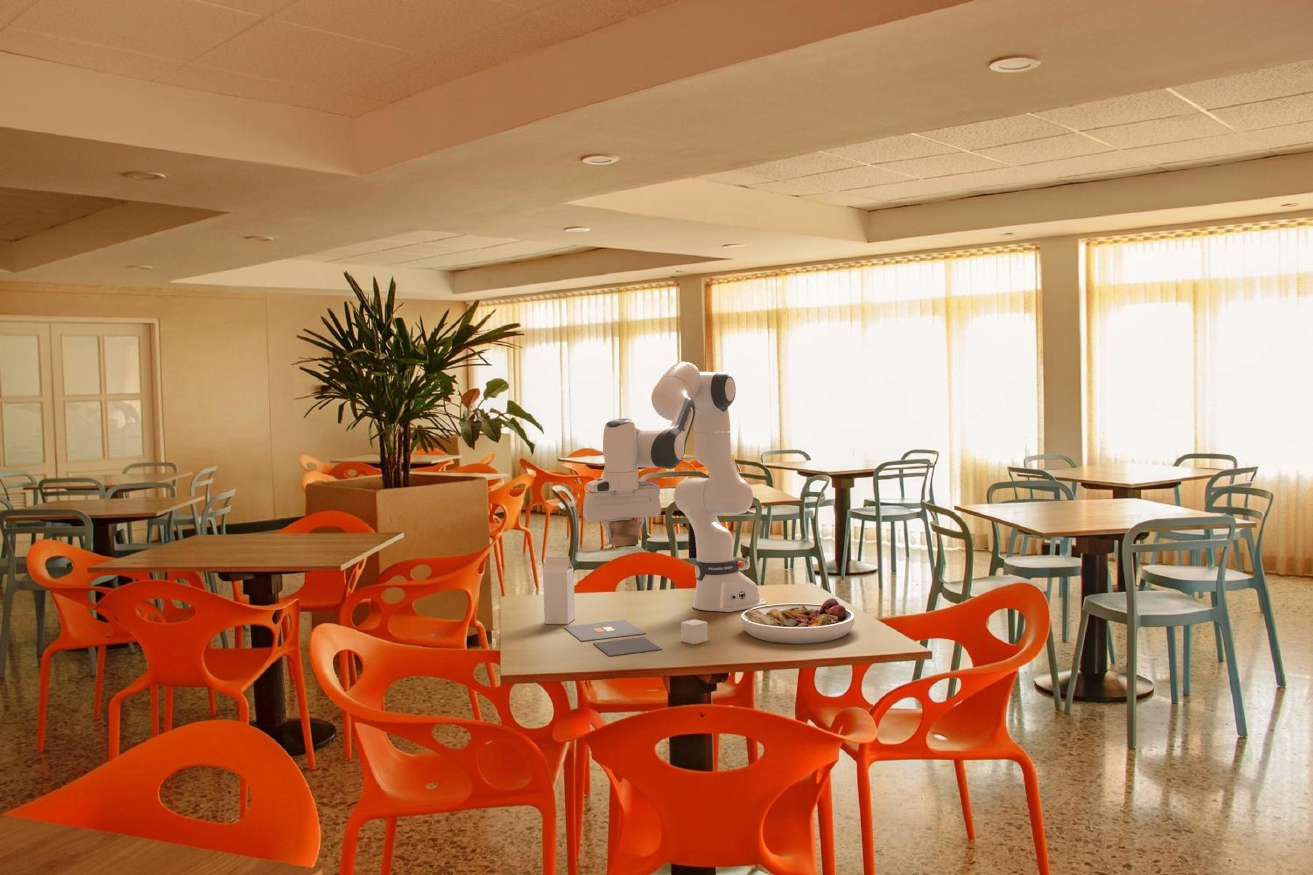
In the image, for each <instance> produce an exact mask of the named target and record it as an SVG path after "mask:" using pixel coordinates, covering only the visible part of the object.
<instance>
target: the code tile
mask: <svg viewBox="0 0 1313 875" xmlns="http://www.w3.org/2000/svg"><path fill="white" fill-rule="evenodd" d="M563 628H564V630H566V631H567V632H568V633H569V634H571V635H572V636H574V637H575V638H576V639H577V640H579V641H580V642H581V643H582V642H591V641H592V642H593V641H598V640H599V641H600V640H607V639H617V638H624V637H631V636H633V637H634V636H642V635H646V632H645V631H643V630H641V629H640V628H638V627H637V626H635V625H633V624H632V623H630V622H629V621H627V620H626V619H621V620H612V621H604V622H603V621H602V622H596V623H595V622H594V623H586V624H578V625H577V624H576V625H568V626H567V625H565V626H564V627H563Z"/></svg>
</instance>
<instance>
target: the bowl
mask: <svg viewBox="0 0 1313 875" xmlns="http://www.w3.org/2000/svg"><path fill="white" fill-rule="evenodd" d="M845 607H846V606H844V605H841V604H840V603H839V602H838V600H837V599H835V598H833V597H832V598H827V599H826V600H825V601H824V602H823V603H822V604H820V603H803V602H802V603H798V602H797V603H794V602H793V603H792V602H791V603H775V604H769V605H768V604H767V605H766V606H760V607H755V608H750V609H746V610H745V611H743V612H742V613H741V615H740V623H741V625H742V628H743V629H744V631H745V632H746V633H747V634H749V635H750V636H752V637H753V638H756V639H759V640H760V641H761V640H762V641H765V642H770V643H779V644H790V645H791V644H795V645H796V644H797V645H801V644H803V645H804V644H817V643H819V644H820V643H826V642H831V641H835V640H838V639H840V638H843V637H845V636H846V635H847V634H849V633H850V631H851V630H852V629H853V627H854V625H855V624H854V623H855V614H854V613H853V612H852V611H851V610H849V609H846V608H845Z"/></svg>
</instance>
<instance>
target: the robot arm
mask: <svg viewBox="0 0 1313 875" xmlns="http://www.w3.org/2000/svg"><path fill="white" fill-rule="evenodd" d="M736 393H737V389H736V383H735V380H734V378H733V377H732V376H731V374H730V373H727V372H723V371H716V372H714V371H700V370H699V369H698V367H697V366H696V365H694V364H692V363H691V362H687V361H680V362H676V363H675V364H673V365H672V366H671V367H670V368H669V369H667V371H665V373H664V374H663V376H661V378H660V379H659V381H658V382H657V383H656V385H655V386H654V388H653V390H652V392H651V397H650V399H651V404H652V407H653V408H654V410H655V412H656V413H657V414H658V415H659V416H660V417H661V418H663V419H664V420H667V421H671V425H670V427H668V428H665V429H661V430H640V429H639V428H637V427H636V426H635V422H634V420H633V419H630V418H618V419H612V420H610V421H608V422H607V423H605V425H604V428H603V435H602V436H603V438H602V455H603V458H604V468H603V476H601V477H598V478H596V479H593V480H591V481H589V482H587V483H586V485H585V488H586V490H587V491H588V492H586V493H585V495H584V497H583V506H582V507H583V508H582V516H583V519H584V520H585V521H587V522H600V524H601V526H602V528H603V529H604V531H605V537H606V539H609V538H613V531H612V530H609V528H608V524H609V520H618V519H636V520H637V521H638V536H641V534H642V532H641V529H642V527H643V526H644V524H645V522H646V521H645V518H653V517H654V518H655V517H659V516H660V515H661V513H662V505H661V499H660V495H661V488H660V487H661V486H660V484H659V483H658V482H656V481H654V480H649V481H647V480H646V481H643V480H642V481H639V468H659V469H666V470H667V469H668V470H673V469H675V468H676V467H677V466H678V465H680V464H681V462H682V461H683V459H684V456H685V453H686V445H687V442H688V438H689V435H690V433H691V430H692V427H693V455H694V459H695V460H696V461H697V463H699V464H700V465H702V466H704V468H705V469H706V470H707V472H708V474H709V475H708V476H709V477H693V478H687V479H683V480H680V481H679V482H678V483H677V485H676V486H675V488H674V493H673V499H674V503H675V505H676V507H677V508H678V510H680V511H681V512H682V513H683V514H684V515H685V516H686V518H687V520H688V521H689V523H690V525H691V527H692V530H693V532H694V537H695V548H696V560H695V565H694V568H695V569H694V570H695V571H694V573H695V578H696V585H695V595H694V599H693V600H694V601H693V604H692V607H693V608H694V609H695V610H696V609H697V610H698V611H699V610H701V611H707V612H708V611H709V612H723V613H731V612H736V611H742V610H749V609H752V608H756V607H760V606H766V605H768V602H767V600H766V599H765V598H763V597H760V592H759V589H758V586H757V584H756V583H755V582H754V581H753V580H752V579H751V578H749V577H748V576H747V575H745V574H744V573H743V572H741V571H740V569H744V568H745V566H746V563H745V561H742V560H737V559H735V558H734V545H733V541H734V540H733V535H732V533H731V531H730V530H729V529H728V528H726V527H725V526H724V525H722V523H721V522H720V520H719V518H718V516H720V515H721V516H736V515H741V514H745V513H747V512H748V511H750V510H749V509H750V508H751V507H752V505H753V501H754V492H753V489H752V486H751V485H750V484H749V482H747V481H746V480H744V478H743V477H741V475H740V473H739V471H738V470H737V468H736V466H735V463H734V460H733V456H732V455H733V454H732V444H731V442H732V440H731V421H730V413H729V407H730V406H731V405H732V404H733V402H734V400H735V398H736ZM739 568H740V569H739Z"/></svg>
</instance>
